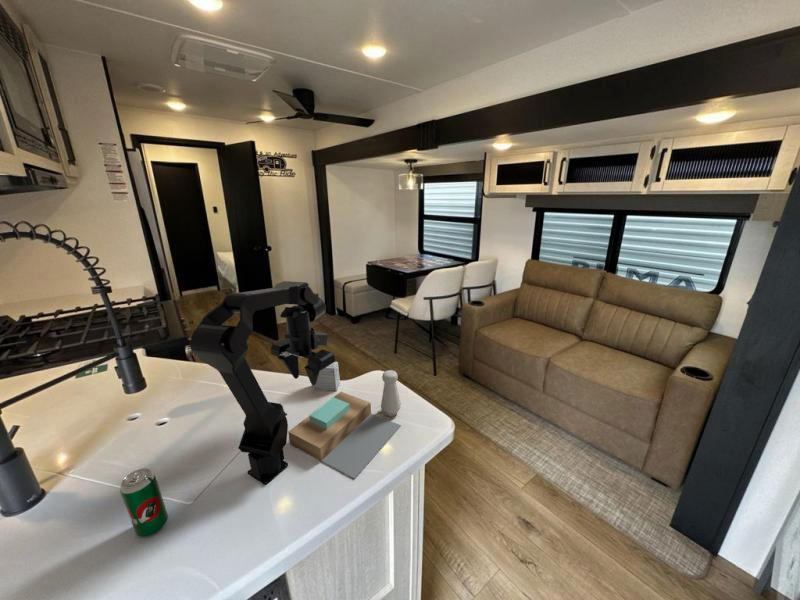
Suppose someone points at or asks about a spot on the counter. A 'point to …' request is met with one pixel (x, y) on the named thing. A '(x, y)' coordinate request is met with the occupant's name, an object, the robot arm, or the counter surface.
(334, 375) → the medicine box
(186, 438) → the counter surface
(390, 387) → the salt shaker
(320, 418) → the teal rectangular block
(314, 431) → the deck
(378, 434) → the mat
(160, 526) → the soda can
